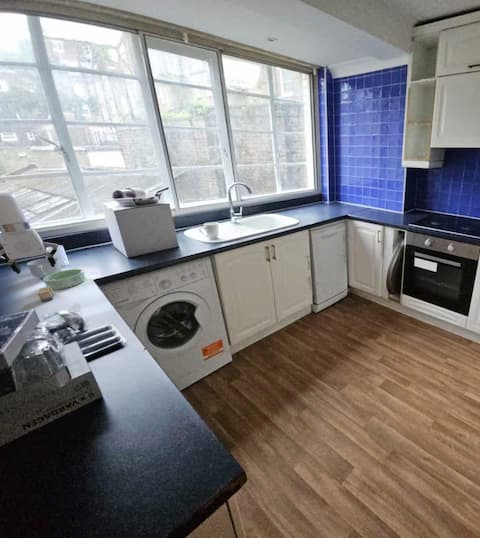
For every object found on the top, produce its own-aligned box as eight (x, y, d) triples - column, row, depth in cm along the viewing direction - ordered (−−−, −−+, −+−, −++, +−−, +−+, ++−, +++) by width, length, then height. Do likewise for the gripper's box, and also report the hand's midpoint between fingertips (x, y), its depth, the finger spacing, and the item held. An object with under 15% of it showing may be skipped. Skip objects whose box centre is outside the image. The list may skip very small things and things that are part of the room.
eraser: (52, 299, 120) (48, 291, 119) (41, 302, 118) (37, 293, 117) (54, 294, 124) (50, 286, 123) (44, 297, 123) (39, 288, 121)
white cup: (46, 268, 153) (37, 250, 149) (62, 262, 160) (54, 245, 156) (58, 268, 152) (50, 250, 148) (74, 262, 159) (66, 245, 155)
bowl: (45, 293, 126) (40, 283, 124) (49, 283, 135) (45, 274, 134) (85, 284, 133) (81, 275, 132) (87, 275, 143) (83, 266, 141)
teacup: (41, 273, 146) (34, 258, 143) (69, 269, 150) (62, 255, 147) (25, 285, 134) (17, 268, 131) (56, 280, 138) (48, 264, 135)
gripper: (-24, 234, 101) (2, 278, 108) (46, 224, 111) (65, 266, 118) (-17, 229, 107) (7, 272, 114) (48, 221, 117) (67, 261, 123)
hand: (36, 269), depth 116 cm, fingers open, 9 cm apart
